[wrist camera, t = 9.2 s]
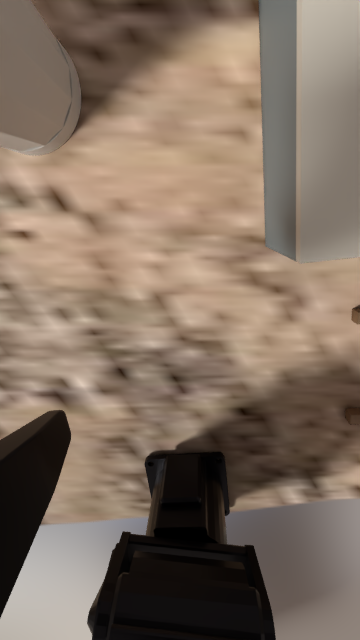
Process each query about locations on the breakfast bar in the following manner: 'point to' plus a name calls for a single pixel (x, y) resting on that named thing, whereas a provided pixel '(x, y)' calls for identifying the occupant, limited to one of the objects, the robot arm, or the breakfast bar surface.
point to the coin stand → (354, 413)
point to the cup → (34, 83)
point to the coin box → (311, 127)
